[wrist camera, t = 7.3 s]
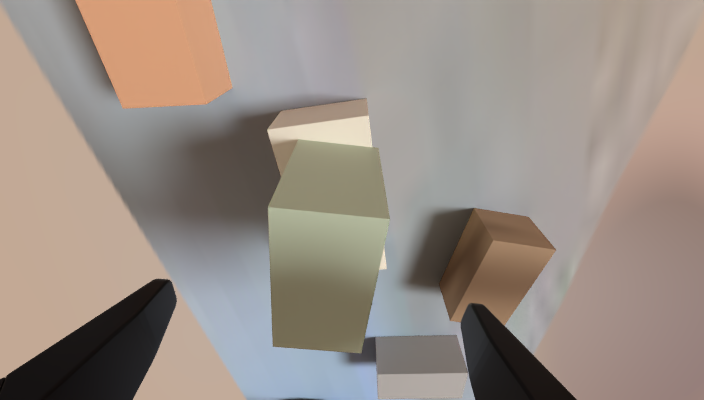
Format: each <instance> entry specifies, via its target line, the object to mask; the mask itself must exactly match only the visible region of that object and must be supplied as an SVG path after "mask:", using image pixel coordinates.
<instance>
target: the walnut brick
mask: <svg viewBox="0 0 704 400" xmlns="http://www.w3.org/2000/svg"><path fill="white" fill-rule="evenodd" d="M555 251H556V249H555V248H554V247H553V246H552V244H551V243H550V242H549V241H548V240H547V238H546V237H545V236H544V235H543V234H542V232H541V231H540V230H539V229H538V228H537V226H536V225H535V224H534V223H533V222H532V220H531V219H530V218H529V217H526V216H520V215H514V214H508V213H502V212H495V211H489V210H483V209H477V208H474V209H473V211H472V214H471V216H470V218H469V220H468V222H467V224H466V227H465V229H464V231H463V233H462V235H461V237H460V240H459V242H458V244H457V246H456V248H455V250H454V253H453V255H452V257H451V259H450V261H449V263H448V266H447V268H446V270H445V272H444V274H443V276H442V278H441V281H440V283H439V285H440V289H441V292H442V295H443V299H444V302H445V305H446V309H447V312H448V315H449V319H450V321H455V322H461V319H462V317H463V315H464V312H465V310H466V308H467V306H468V304H470V303H478V304H483V305H484V306H486V307H487V308H488V309H489V311H490V312H491V313H492V314H493V315H494V316H495V317H496V318H497V319H498V320H499V321H500V322H501V323H502V324H503V325H505V324H506V322H507V321H508V319H509V318H510V317H511V315H512V314H513V312H514V311H515V309H516V308H517V306H518V305H519V303H520V302H521V300H522V299H523V298H524V296H525V295H526V293H527V292H528V290H529V289H530V287H531V286H532V284H533V283H534V282H535V280H536V279H537V277H538V276H539V274H540V273H541V271H542V270H543V268H544V267H545V265H546V264H547V263H548V261H549V260H550V258H551V257H552V255H553V254H554V252H555Z"/></svg>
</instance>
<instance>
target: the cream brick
mask: <svg viewBox="0 0 704 400" xmlns="http://www.w3.org/2000/svg"><path fill="white" fill-rule="evenodd" d="M267 132H268V135H269V138H270V142H271V145H272V148H273V152H274V155H275V159H276V162H277V165H278V169H279V172H280V175H281V177H282V175H283V173H284V170H285V168H286V166H287V164H288V161H289V159H290V157H291V155H292V153H293V150H294V148H295V146H296V144H297V142H298V139H301V140H310V141H319V142H328V143H337V144H346V145H355V146H365V147H372V140H371V132H370V123H369V115H368V106H367V99H360V100H353V101H346V102H339V103H332V104H325V105H318V106H311V107H304V108H297V109H290V110H283V111H281V112H280V113H279V114H278V116H277V117H276V118H275V120H274V121H273V122H272V124H271V125H270V126H269V128H268V129H267ZM381 269H387V268H386V259H385V251H384V249H383V254H382V258H381V263H380V268H379V270H381Z"/></svg>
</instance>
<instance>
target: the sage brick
mask: <svg viewBox="0 0 704 400" xmlns="http://www.w3.org/2000/svg"><path fill="white" fill-rule="evenodd" d="M389 221H390V217H389V211H388V205H387V198H386V192H385V186H384V180H383V174H382V168H381V162H380V156H379V149H378V148H374V147H365V146H355V145H346V144H337V143H328V142H319V141H310V140H301V139H298V142H297V144H296V146H295V148H294V150H293V153H292V155H291V157H290V159H289V161H288V164H287V166H286V168H285V170H284V173H283V175H282V177H281V179H280V181H279V184H278V186H277V188H276V190H275V192H274V195H273V197H272V199H271V201H270V204H269V206H268V225H269V253H270V281H271V308H272V336H273V347H285V348H298V349H311V350H323V351H336V352H349V353H361V352H362V347H363V342H364V338H365V333H366V328H367V324H368V319H369V314H370V310H371V305H372V300H373V296H374V291H375V286H376V282H377V277H378V272H379V268H380V263H381V258H382V254H383V249H384V244H385V240H386V235H387V230H388V226H389Z"/></svg>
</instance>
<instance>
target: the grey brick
mask: <svg viewBox="0 0 704 400" xmlns="http://www.w3.org/2000/svg"><path fill="white" fill-rule="evenodd" d="M375 340H376V371H377V389H378V399H415V398H462V395H463V391H464V387H465V383H466V379H467V375H468V371H467V368H466V365H465V361H464V358H463V355H462V352H461V348H460V345H459V342H458V338H457V335H439V336H390V337H375Z"/></svg>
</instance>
